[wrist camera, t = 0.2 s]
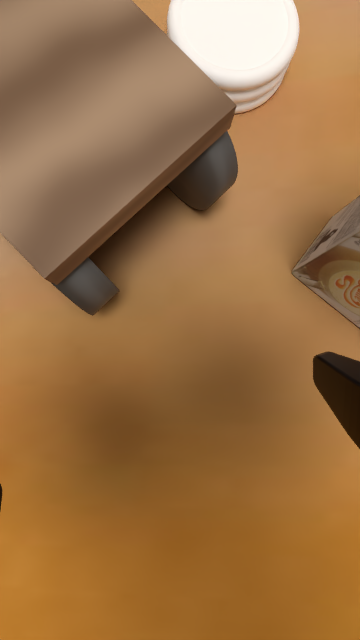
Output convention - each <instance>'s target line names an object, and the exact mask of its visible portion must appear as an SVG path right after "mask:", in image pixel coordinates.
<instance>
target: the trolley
mask: <svg viewBox="0 0 360 640" xmlns="http://www.w3.org/2000/svg"><path fill="white" fill-rule="evenodd" d="M236 106H237V105H236V104H235V103H234V102H233V101H232V100H231V99H230V98H229V97H228V96H227V95H226V94H225V93H224V92H223V91H222V90H221V89H220V88H219V87H218V86H217V85H216V84H215V83H214V82H213V81H212V80H211V79H210V78H209V77H208V76H207V75H206V74H205V73H204V72H203V71H202V70H201V69H200V68H199V67H198V66H197V65H196V64H195V63H194V62H193V61H192V60H191V59H190V58H189V57H188V56H187V55H186V54H185V53H184V52H183V51H182V50H181V49H180V48H179V47H178V46H177V45H176V44H175V43H174V42H173V41H172V40H171V39H170V38H169V37H168V36H167V35H166V34H165V33H164V32H163V31H162V30H161V29H160V28H159V27H158V26H157V25H156V24H155V23H154V22H153V21H152V20H151V19H150V18H149V17H148V16H147V15H146V14H145V13H144V12H143V11H142V10H141V9H140V8H139V7H138V6H137V5H136V4H135V3H134V2H133V1H132V0H0V233H1V234H2V235H3V236H4V237H5V238H6V239H7V240H8V241H9V242H10V243H11V244H12V246H13V247H14V248H15V249H16V250H17V251H18V252H19V253H20V254H21V255H22V256H23V257H24V258H25V259H26V260H27V261H28V262H29V263H30V264H31V265H32V266H33V267H34V268H35V269H36V270H37V271H38V272H39V273H40V275H41V276H42V277H43V278H44V279H46V280H48V281H50V282H51V283H52V284H53V285H54V286H55V287H56V288H57V289H58V290H60V291H61V292H62V293H63V294H64V295H65V296H66V297H68V298H69V299H70V300H71V301H72V302H73V303H75V304H76V305H77V306H79V307H80V308H81V309H82V310H84V311H85V312H87V313H88V314H90V315H94V314H95V313H96V312H97V311H98V310H100V309H101V308H102V307H103V306H104V305H105V304H106V303H107V302H108V301H109V300H110V299H111V298H112V297H113V296H114V295H116V294H117V293H118V292H119V290H118V288H117V287H116V286H115V285H114V284H113V283H112V282H111V281H110V280H109V279H108V278H107V277H106V276H105V275H104V273H103V272H102V271H101V270H100V269H99V268H98V267H97V266H96V265H95V264H94V263H93V262H92V261H91V260H90V259H89V258H88V257H89V256H90V255H91V254H92V253H93V252H94V251H95V250H96V249H97V248H98V247H100V246H101V245H102V244H103V243H104V242H105V241H106V240H107V239H108V238H109V237H111V236H112V235H113V234H114V233H115V232H116V231H117V230H118V229H119V228H120V227H122V226H123V225H124V224H125V223H126V222H127V221H128V220H129V219H130V218H131V217H133V216H134V215H135V214H136V213H137V212H138V211H139V210H140V209H141V208H142V207H144V206H145V205H146V204H147V203H148V202H149V201H150V200H151V199H152V198H153V197H155V196H156V195H157V194H158V193H159V192H160V191H161V190H162V189H163V188H164V187H166V186H168V187H169V188H170V189H171V191H172V192H173V193H174V194H175V195H176V196H177V197H179V198H180V199H181V200H182V201H183V202H185V203H186V204H188V205H189V206H191V207H193V208H195V209H199V210H205V209H207V208H209V207H210V206H211V205H212V204H213V203H214V202H215V201H216V200H217V199H218V198H219V197H220V196H221V195H222V194H224V193H225V192H226V191H227V190H228V189H229V188H230V187H231V186H232V185H233V184H234V182H235V181H236V178H237V172H238V164H237V157H236V153H235V149H234V146H233V144H232V141H231V138H230V136H229V134H228V132H227V130H228V129H229V128H230V126H231V123H232V120H233V116H234V113H235V110H236Z"/></svg>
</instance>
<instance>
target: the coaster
mask: <svg viewBox="0 0 360 640" xmlns="http://www.w3.org/2000/svg"><path fill="white" fill-rule="evenodd" d="M167 36H168V37H169V38H170V39H171V40H172V41H173V42H174V43H175V44H176V45H177V46H178V47H179V48H180V49H181V50H182V51H183V52H184V53H185V54H186V55H187V56H188V57H189V58H190V59H191V60H192V61H193V62H194V63H195V64H196V65H197V66H198V67H199V68H200V69H201V70H202V71H203V72H204V73H205V74H206V75H207V76H208V77H209V78H210V79H211V80H212V81H213V82H214V83H215V84H216V85H217V86H218V87H219V88H220V89H221V90H222V91H223V92H224V93H225V94H226V95H227V96H228V97H229V98H230V99H231V100H232V101H233V102H234V103H235V104H236V105H237V106H236V110H235V113H234V114H236V113H242V112H246V111H249V110H252V109H254V108H256V107H258V106H260V105H262V104H263V103H265V102H266V101H267V100H268V99H269V98H270V97H271V96H272V95H273V94H274V93H275V91H276V90H277V89H278V87H279V86H280V84H281V82H282V80H283V78H284V74H285V73H286V71H287V69H288V66H289V64H290V61H291V59H292V57H293V55H294V53H295V50H296V47H297V43H298V36H299V19H298V14H297V10H296V7H295V4H294V2H293V0H171V3H170V6H169V10H168V15H167Z"/></svg>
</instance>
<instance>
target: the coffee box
mask: <svg viewBox="0 0 360 640" xmlns="http://www.w3.org/2000/svg"><path fill="white" fill-rule="evenodd" d="M292 274H293V275H294V276H295V277H296V278H298V279H299V280H300V281H301V282H303V283H304V284H305V285H306V286H307V287H309V288H310V289H311V290H312V291H314V292H315V293H316V294H318V295H319V296H320V297H321V298H323V299H324V300H325V301H326V302H328V303H329V304H330V305H331V306H333V307H334V308H335V309H336V310H338V311H339V312H340V313H341V314H343V315H344V316H345V317H346V318H348V319H349V320H350V321H352V322H353V323H354V324H355V325H357V326H358V327H359V328H360V196H358V197H357V198H356V199H355V200H353V201H352V202H351V203H350V204H348V205H347V206H346V207H344V208H343V209H342V210H340V211H339V212H338V213H336V214H335V215H334V216H333V217H332V218H331V219H330V220H329V222H328V223H327V224H326V226H325V227H324V228H323V230H322V231H321V232H320V234H319V235H318V236H317V238H316V239H315V240H314V242H313V243H312V244H311V246H310V247H309V248H308V250H307V251H306V252H305V254H304V255H303V257H302V258H301V259H300V261H299V262H298V263H297V265H296V266H295V267H294V269H293V270H292Z"/></svg>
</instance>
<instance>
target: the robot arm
mask: <svg viewBox="0 0 360 640" xmlns="http://www.w3.org/2000/svg"><path fill="white" fill-rule="evenodd" d="M313 380H314V383H315V385H316V387H317V389H318V390H319V392H320V393H321V395H322V396H323V398H324V399H325V401H326V402H327V404H328V405H329V407H330V408H331V410H332V411H333V413H334V414H335V416H336V417H337V419H338V420H339V422H340V423H341V425H342V426H343V428H344V429H345V431H346V432H347V434H348V435H349V436H350V437H351V439H352V440H353V441H354V443H355V444H356V445H357V446H358V447H359V449H360V362H359V361H357V360H354V359H351V358H348V357H345V356H342V355H339V354H336V353H333V352H324V353H321V354H318V355H316V356H314V358H313ZM1 501H2V487H1V484H0V510H1Z"/></svg>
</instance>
